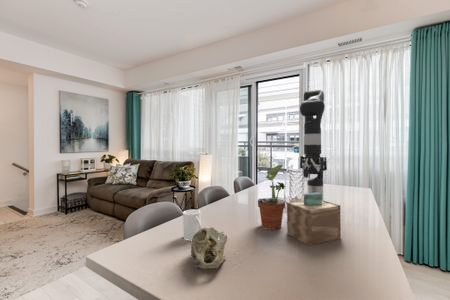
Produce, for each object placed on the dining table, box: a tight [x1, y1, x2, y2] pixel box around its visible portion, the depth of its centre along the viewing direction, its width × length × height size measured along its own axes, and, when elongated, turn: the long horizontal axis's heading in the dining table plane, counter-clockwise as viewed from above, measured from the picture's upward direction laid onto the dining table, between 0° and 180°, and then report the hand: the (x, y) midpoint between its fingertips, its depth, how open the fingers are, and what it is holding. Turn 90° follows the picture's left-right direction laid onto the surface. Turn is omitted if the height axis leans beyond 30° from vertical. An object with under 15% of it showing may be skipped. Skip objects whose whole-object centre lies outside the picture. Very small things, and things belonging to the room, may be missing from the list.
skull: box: [190, 226, 228, 269], centre depth 81 cm, size 11×20×15 cm
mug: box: [182, 209, 202, 240], centre depth 102 cm, size 12×8×12 cm
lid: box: [290, 192, 338, 213], centre depth 103 cm, size 14×16×6 cm
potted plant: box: [257, 164, 286, 231], centre depth 116 cm, size 16×15×35 cm
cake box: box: [286, 199, 342, 246], centre depth 103 cm, size 14×19×15 cm
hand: (312, 178), depth 102 cm, fingers open, 8 cm apart
